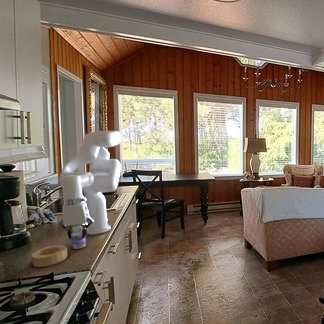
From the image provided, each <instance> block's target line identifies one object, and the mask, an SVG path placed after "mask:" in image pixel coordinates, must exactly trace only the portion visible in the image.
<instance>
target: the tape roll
mask: <svg viewBox="0 0 324 324" xmlns="http://www.w3.org/2000/svg"><path fill="white" fill-rule="evenodd" d="M68 256H69V255H68V247H67V245H65V244H55V245H48V246H46V247H42V248H40V249H37V250H35V251H34V252H32V254H31V263H32V266H33V267H36V268H43V267H50V266H52V265H56V264H59V263H60V262H63V261H64V260H66V259H67V258H68Z"/></svg>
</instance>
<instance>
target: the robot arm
mask: <svg viewBox="0 0 324 324" xmlns="http://www.w3.org/2000/svg"><path fill="white" fill-rule="evenodd" d="M121 142H122V134H121V133H120V131H118V130H95V131H92V132H88V133H85V134H84V136H83V139H82V143H81V145H80V148H79V149H78V153H77V154H76V155H74V156H73V157H71V158H70V159H69V160H68V161H67V162H66V163H65V164H63V166H62V169H61V171H60V174H59V178H58V183H59V185H60V186H61V188H62V196H63V205H62V215H61V216H62V219H61V220H60V221H59V222H58V226H59V227H61V228H62V229H64V230H65V232H66V233H67V237H68V240H72V238H71V233H72V232H73V231H72V228H73V226H82V234H83V238H85V239H86V237H87V236H88V235H89V236H90V235H91V236H94V235H100V234H104V233H107V232H108V231H111V229H112V225H110V224H108V221H109V219H108V214H107V204H106V198H105V196H104V194H103V193H113V192H115V191H116V190H117V189H118V186H119V181H120V175H121V171H122V170H121V169H122V166H121V162H120V161H119V160H118V159H117V158H110V152H109V151H108V150H107V148H112V147H116V146H119V144H120V143H121ZM86 165H89V171H76V170H78V169H79V168H81V167H84V166H86ZM83 196H85V198H83ZM84 201H86V203H85V202H84Z"/></svg>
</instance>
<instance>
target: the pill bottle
mask: <svg viewBox="0 0 324 324" xmlns="http://www.w3.org/2000/svg"><path fill="white" fill-rule="evenodd" d="M71 229H72V231H73V232H72V233H71V243H72V244H71V245H72V246H71V247H72V248H73V249H74V250H79V249H82V248H84V247H86V244H87V242H86V237H85V238H83V234H82V230H83V228H82V226H81V225H75V226H74V227H73V226H72V227H71Z"/></svg>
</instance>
